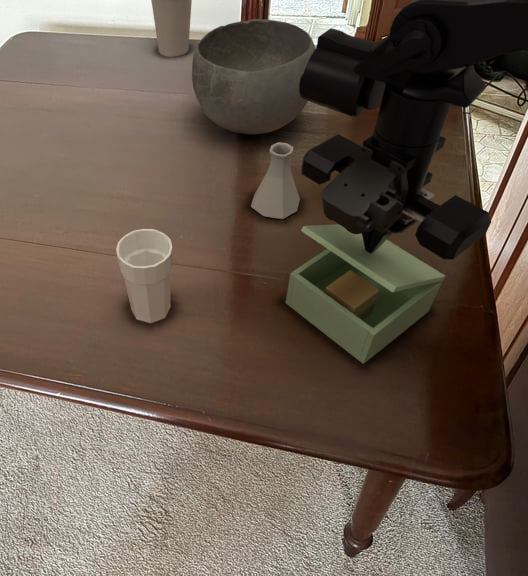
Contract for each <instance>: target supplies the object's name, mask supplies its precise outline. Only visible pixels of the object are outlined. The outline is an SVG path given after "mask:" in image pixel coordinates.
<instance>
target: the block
mask: <svg viewBox="0 0 528 576" xmlns="http://www.w3.org/2000/svg"><path fill="white" fill-rule="evenodd" d="M379 291H380V290H379V289H378V288H376V287H375V286H373V285H372V284H370V283H369V282H367V281H366V280H364V279H363V278H361V277H360V276H358V275H357V274H356V273H354V272H353V271H351V270H350V271H348V272H347V273H346V274H344V275H343V276H341V277H340V278H339V279H337V280H336V281H334V282H333V283H331V284H330V285H329V286H327V287H326V290H325V294H327V295H328V296H329V297H331V298H332V299H334V300H335V301H336V302H338V303H339V304H340V305H342V306H343V307H345V308H346V309H347V310H349V311H350V312H351V313H353V314H354V315H355V316H357V317H358V318H360V319H361V320H364V319H365V318H366V317H368V316H369V315H370V314H372V311H373V309H374V306H375V303H376V300H377V297H378V294H379Z"/></svg>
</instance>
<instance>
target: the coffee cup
mask: <svg viewBox="0 0 528 576" xmlns="http://www.w3.org/2000/svg"><path fill="white" fill-rule="evenodd" d="M192 3H193V2H192V0H151V8H152V14H153V21H154V27H155V28H154V29H155V36H156V42H157V48H158V49H157V50H158V53H159V54H160V55H161V56H164V57H168V58H173V57H174V58H176V57H180V56H183V55H185V54H186V53H188V51H189V50H190V49H189V47H190V31H191V19H192Z"/></svg>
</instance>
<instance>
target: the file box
mask: <svg viewBox="0 0 528 576" xmlns="http://www.w3.org/2000/svg"><path fill="white" fill-rule="evenodd" d="M350 270H351V271H353V272H354V273H356V274H357V275H358V276H360V277H361V278H363V279H364V280H366V281H367V282H369V283H370V284H372V285H373V286H375V287H376V288H378V289H379V290H380V291H379V294H378V297H377V300H376V303H375V306H374V309H373V311H372V314H370V315H369V316H368V317H366V318H365V319H364V320H361V319H360V318H358V317H357V316H355V315H354V314H353V313H351V312H350V311H349V310H347V309H346V308H345V307H343V306H342V305H340V304H339V303H338V302H336V301H335V300H334V299H332V298H331V297H329V296H328V295H327V294H325V290H326V287H327V286H329V285H330V284H331V283H333V282H334V281H336V280H337V279H339V278H340V277H341V276H343V275H344V274H346V273H347V272H348V271H350ZM443 282H444V280H442V281H438V282H434V283H430V284H426V285H422V286H418V287H413V288H409V289H405V290H401V291H397V292H391V291H390V290H388V289H387V288H385V287H384V286H382V285H381V284H379V283H378V282H376V281H375V280H373V279H372V278H370V277H369V276H367V275H366V274H364V273H363V272H361V271H360V270H358V269H357V268H355V267H354V266H352V265H351V264H349V263H348V262H346V261H345V260H343V259H342V258H341V257H339V256H338V255H336V254H335V253H333V252H332V251H330V250H329V249H327V248H326V249H324V250H323V251H320V253H318V254H316V255H315V256H314V257H312V258H311V259H309V260H308V261H307V262H305V263H303V264H302V265H301V266H298V267H297V268H296V269H295V270H293V271H292V272H290V274H289V281H288V284H287V285H288V287H287V292H286V297H285V304H286V305H287V306H289V307H290V308H291V309H292V310H294V311H295V312H296V313H298V314H299V316H301V317H303V318H304V319H305V320H306V321H308V322H309V324H311V325H313V326H314V327H315V328H317V329H318V330H319V331H320V332H321V333H323V334H324V335H326V336H327V337H328V338H329V339H330V340H332V341H333V342H334V343H336V344H337V345H338V346H339V347H341V348H342V349H343V350H345V351H346V352H347V353H348V354H350V355H351V357H353V358H355V359H356V360H357V361H358V362H360V363H361V364H363V365H364V364H365V363H367V362H368V361H369V360H370V359H372V358H373V357H374V356H376V355H377V354H378V353H379V352H381V351H382V350H383V349H384V348H386V347H387V346H388V345H389V344H390V343H392V342H393V341H394V340H395V339H396V338H398V336H401V335H402V334H403V333H404V332H406V330H407V329H409V328H410V327H411V326H412V325H414V324H415V323H416V322H418V321H419V320H421V318H423V317H424V316H425V315H426V314H428V312H430V310H431V307H432V305H433V303H434V301H435V299H436V297H437V294H438V293H439V290H440V288H441V287H442V285H443Z"/></svg>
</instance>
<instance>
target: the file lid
mask: <svg viewBox="0 0 528 576" xmlns="http://www.w3.org/2000/svg"><path fill="white" fill-rule="evenodd" d="M301 232H302V233H303V234H305V235H306V236H307V237H309V238H311V239H312V240H313V241H315V242H317V243H318V244H320V245H321V246H323V248H326V249H329V250H330V251H332V252H333V253H335V254H336V255H338V256H339V257H341V258H342V259H343V260H345V261H346V262H348V263H349V264H351V265H352V266H354V267H355V268H357V269H358V270H360V271H361V272H363V273H364V274H366V275H367V276H369V277H370V278H372V279H373V280H375V281H376V282H378V283H379V284H381V285H382V286H384V287H385V288H387V289H388V290H390V291H391V292H397V291H401V290H405V289H409V288H413V287H418V286H422V285H426V284H430V283H434V282H438V281H444V279H445V278H446V275H445V274H443V273H442V272H441V271H438V270H437V269H435V268H434V267H432V266H431V265H429V264H427V263H425V262H424V261H423V260H420V259H419V258H417V257H416V256H414V255H413V254H412V253H411V254H410V253H409V252H407V251H406V250H404V249H403V248H401V247H400V246H398V245H397V244H395V243H393V242H392V241H390V240H388V239H387V240H386V241H385V242H384V243H383V244H382V245H381V246H380V247H379V248H378V249H377V250H376V251H375V252H373V253H372V254H370V253H369V252H367V251H366V250H365V247H364V242H363V237H362V233H361V234H352V233H350V232H349V231H347V230H346V229H345V228H344V227H342V226H341V225H339V224H338V223H334V224H315V225H314V224H313V225H303V226H302V228H301Z"/></svg>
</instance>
